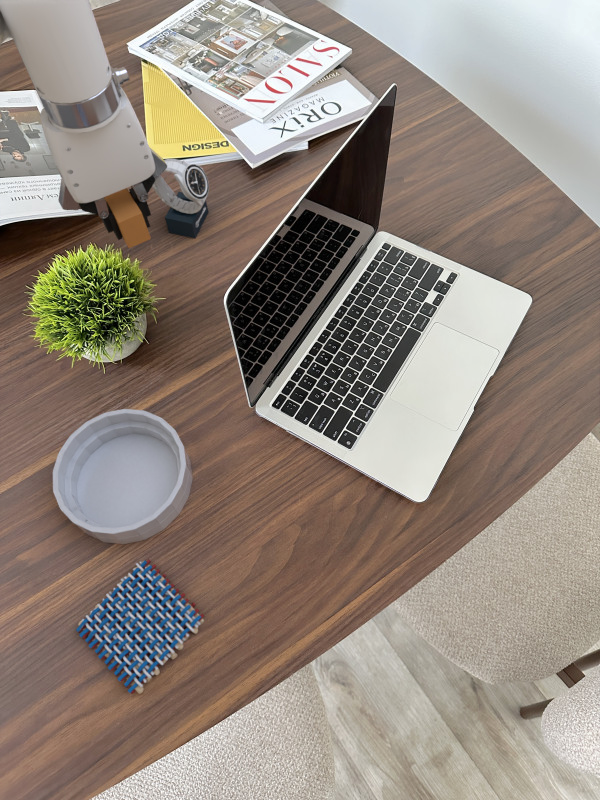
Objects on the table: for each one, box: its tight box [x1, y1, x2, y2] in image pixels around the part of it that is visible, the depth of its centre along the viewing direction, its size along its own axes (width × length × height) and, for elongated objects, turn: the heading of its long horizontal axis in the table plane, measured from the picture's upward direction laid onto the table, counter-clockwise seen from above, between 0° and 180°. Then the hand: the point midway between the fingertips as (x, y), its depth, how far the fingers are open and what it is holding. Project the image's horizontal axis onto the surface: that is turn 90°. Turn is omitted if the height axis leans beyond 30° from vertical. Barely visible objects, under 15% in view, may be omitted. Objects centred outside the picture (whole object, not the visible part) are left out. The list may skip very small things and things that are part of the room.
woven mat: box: [75, 558, 205, 695], centre depth 68 cm, size 10×11×2 cm
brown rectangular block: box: [105, 188, 152, 249], centre depth 78 cm, size 3×8×4 cm, turn 29°
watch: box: [151, 158, 210, 239], centre depth 91 cm, size 6×8×11 cm
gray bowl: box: [52, 408, 193, 545], centre depth 74 cm, size 15×15×5 cm
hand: (129, 225), depth 79 cm, fingers closed on brown rectangular block, 3 cm apart
